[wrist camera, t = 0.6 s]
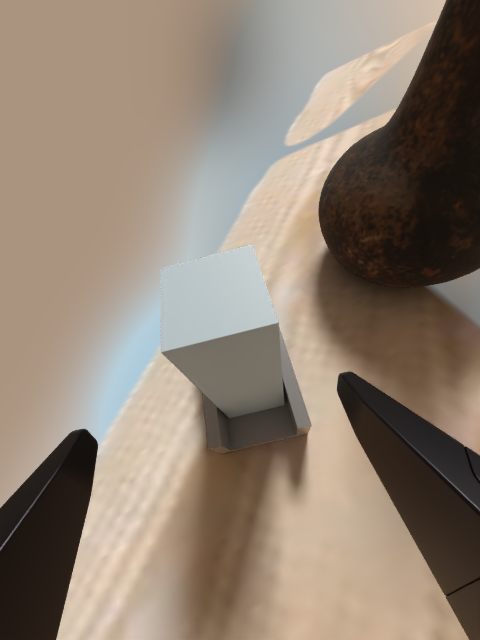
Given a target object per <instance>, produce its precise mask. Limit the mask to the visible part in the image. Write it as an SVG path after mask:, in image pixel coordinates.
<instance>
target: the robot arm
mask: <svg viewBox="0 0 480 640" xmlns="http://www.w3.org/2000/svg"><path fill="white" fill-rule="evenodd" d="M337 392H338V395H339V398H340V400H341V402H342V405H343V407H344V409H345V412H346V414H347V416H348V419H349V421H350V423H351V426H352V428H353V430H354V432H355V435H356V437H357V438H358V440H359V442H360V444H361V446H362V448H363V449H364V451H365V453H366V455H367V457H368V458H369V460H370V462H371V464H372V466H373V467H374V469H375V471H376V473H377V475H378V476H379V478H380V480H381V482H382V484H383V485H384V487H385V489H386V491H387V493H388V494H389V496H390V498H391V500H392V501H393V503H394V505H395V507H396V509H397V510H398V512H399V514H400V516H401V518H402V519H403V521H404V523H405V525H406V527H407V528H408V530H409V532H410V534H411V536H412V537H413V539H414V541H415V543H416V545H417V546H418V548H419V550H420V552H421V553H422V555H423V557H424V559H425V561H426V562H427V564H428V566H429V568H430V570H431V571H432V573H433V575H434V577H435V579H436V580H437V582H438V584H439V586H440V588H441V589H442V591H443V593H444V594H445V595H446V599H447V600H448V602H449V604H450V606H451V608H452V609H453V611H454V613H455V615H456V617H457V618H458V620H459V622H460V624H461V626H462V627H463V629H464V631H465V633H466V635H467V636H468V638H469V640H480V455H479V454H477V453H475V452H474V451H472V450H471V449H469V448H468V447H464V445H463V444H461V443H460V442H458V441H457V440H455V439H454V438H452V437H451V436H449V435H448V434H446V433H445V432H443V431H442V430H440V429H439V428H437V427H435V426H434V425H432V424H431V423H429V422H428V421H426V420H425V419H423V418H422V417H420V416H419V415H417V414H416V413H414V412H412V411H411V410H409V409H408V408H406V407H405V406H403V405H402V404H400V403H399V402H397V401H396V400H394V399H393V398H391V397H390V396H388V395H386V394H385V393H383V392H382V391H380V390H379V389H377V388H376V387H374V386H373V385H371V384H370V383H368V382H367V381H365V380H364V379H362V378H360V377H359V376H357V375H356V374H354V373H353V372H344V373H340V374H339V376H338V384H337ZM97 450H98V443H97V440H96V439H95V438H94V437H93V436H92V435H91V434H90V433H89V432H88V430H86V429H80V430H75V431H72V432H71V433H70V434H69V435H68V436H67V437H66V438H65V439H64V440H63V441H62V442H61V443H60V444H59V445H58V447H57V448H56V449H55V450H54V451H53V452H52V453H51V454H50V455H49V456H48V457H47V458H46V459H45V461H44V462H43V463H42V464H41V465H40V466H39V467H38V468H37V469H36V470H35V471H34V473H32V475H31V476H30V477H29V478H28V479H27V480H26V481H25V482H24V483H23V484H22V485H21V486H20V488H19V489H18V490H17V491H16V492H15V493H14V494H13V495H12V496H11V497H10V498H9V499H8V500H7V502H6V503H5V504H4V505H3V506H2V507H1V508H0V640H56V638H57V634H58V630H59V626H60V621H61V617H62V613H63V609H64V605H65V601H66V597H67V593H68V588H69V584H70V580H71V576H72V572H73V568H74V564H75V559H76V555H77V551H78V547H79V543H80V539H81V535H82V530H83V526H84V522H85V518H86V514H87V510H88V506H89V501H90V497H91V492H92V486H93V478H94V471H95V464H96V457H97Z"/></svg>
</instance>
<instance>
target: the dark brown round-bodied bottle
mask: <svg viewBox="0 0 480 640" xmlns="http://www.w3.org/2000/svg"><path fill="white" fill-rule="evenodd" d="M319 222H320V227H321V231H322V234H323V237H324V239H325V242H326V244H327V246H328V248H329V249H330V251H331V253H332V254H333V255H334V257H335V258H336V259H337V260H338V261H339V262H340V263H341V264H342V265H343V266H344V267H345V268H347V269H348V270H350V271H351V272H352V273H354V274H356V275H358V276H360V277H362V278H364V279H366V280H369V281H371V282H375V283H378V284H383V285H387V286H394V287H420V286H428V285H434V284H439V283H444V282H447V281H450V280H454V279H456V278H459V277H461V276H464V275H467V274H470V273H471V272H474V271H475V270H477V269H479V268H480V0H446V3H445V5H444V7H443V10H442V12H441V15H440V17H439V19H438V22H437V24H436V26H435V28H434V31H433V34H432V36H431V38H430V40H429V43H428V45H427V47H426V50H425V52H424V54H423V57H422V59H421V61H420V63H419V66H418V68H417V70H416V73H415V75H414V77H413V79H412V81H411V83H410V85H409V87H408V89H407V91H406V93H405V95H404V97H403V99H402V101H401V103H400V105H399V107H398V108H397V110H396V111H395V113H394V115H393V116H392V118H391V119H390V120H389V122H388V123H387V124H386V125H385V126H384V127H382V128H379V129H378V130H376V131H374V132H372V133H370V134H368V135H367V136H365V137H363V138H362V139H360V140H359V141H358V142H357V143H355V144H353V145H352V146H351V147H350V148H349V149H348V150H347V151H346V152H345V153H344V154H343V155H342V157H341V158H340V159H339V160H338V161H337V163H336V164H335V165H334V167H333V168H332V170H331V171H330V173H329V175H328V177H327V179H326V181H325V183H324V186H323V189H322V192H321V197H320V201H319Z"/></svg>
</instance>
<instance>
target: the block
mask: <svg viewBox="0 0 480 640" xmlns="http://www.w3.org/2000/svg"><path fill="white" fill-rule="evenodd" d="M161 353H162V354H163V355H164V356H165V357H166V358H167V359H168V360H170V361H171V362H172V363H173V364H174V365H175V366H176V367H177V368H178V369H179V370H180V371H181V372H182V373H183V374H184V375H185V376H186V377H187V378H188V379H189V380H190V381H191V382H192V383H193V384H194V385H195V386H196V387H197V388H199V389H200V390H201V391H202V392H203V393H204V394H205V395H206V396H207V397H208V398H209V399H210V400H211V401H212V402H213V403H214V404H215V405H216V406H217V407H218V408H219V409H220V410H221V411H222V412H223V413H224V414H225V415H226V416H227V417H229V418H234V417H238V416H242V415H246V414H250V413H255V412H259V411H263V410H267V409H271V408H276V407H280V406H284V393H283V379H282V364H281V350H280V336H279V322H278V319H277V316H276V313H275V310H274V307H273V304H272V301H271V298H270V295H269V292H268V289H267V286H266V283H265V280H264V277H263V274H262V271H261V268H260V265H259V262H258V259H257V256H256V253H255V250H254V247H253V244H251V245H247V246H243V247H239V248H236V249H232V250H228V251H224V252H221V253H217V254H213V255H209V256H206V257H202V258H198V259H194V260H190V261H187V262H183V263H179V264H175V265H172V266H168V267H164V268H161Z"/></svg>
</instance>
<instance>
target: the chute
mask: <svg viewBox="0 0 480 640" xmlns="http://www.w3.org/2000/svg"><path fill="white" fill-rule="evenodd" d="M279 336H280V350H281V364H282V379H283V393H284V406H280V407H276V408H271V409H267V410H263V411H259V412H255V413H250V414H246V415H242V416H238V417H234V418H229V417H227V416H226V415H225V414H224V413H223V412H222V411H221V410H220V409H219V408H218V407H217V406H216V405H215V404H214V403H213V402H212V401H211V400H210V399H209V398H208V397H207V396H206V395H205V394H204V393H203V392H202V394H203V404H204V414H205V424H206V434H207V444H208V449H209V450H212V451H215V452H218V453H221V454H223V453H227V452H232V451H236V450H240V449H245V448H249V447H253V446H258V445H262V444H266V443H271V442H275V441H279V440H283V439H288V438H292V437H296V436H301V435H305V434H308V432H309V430H310V427H311V422H310V419H309V416H308V413H307V410H306V407H305V404H304V401H303V398H302V395H301V392H300V389H299V386H298V383H297V380H296V377H295V373H294V370H293V367H292V364H291V361H290V358H289V355H288V352H287V349H286V346H285V343H284V340H283V337H282V334H281V331H280V328H279Z"/></svg>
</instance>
